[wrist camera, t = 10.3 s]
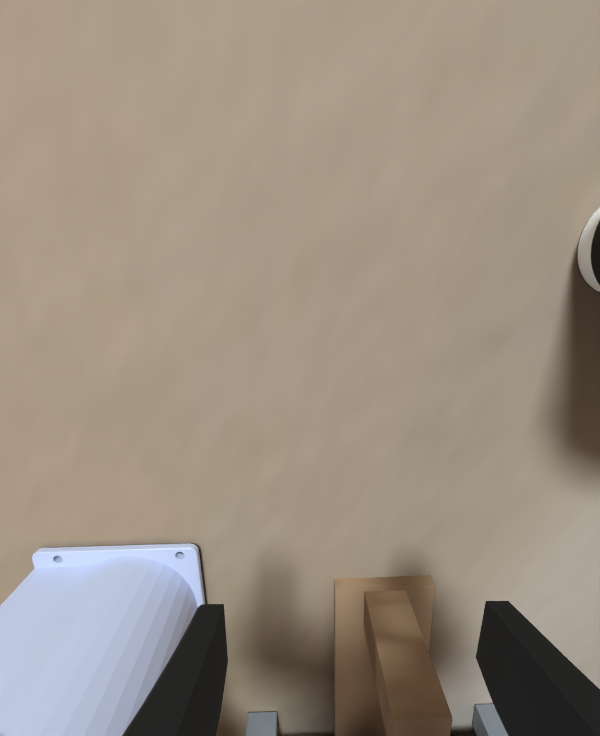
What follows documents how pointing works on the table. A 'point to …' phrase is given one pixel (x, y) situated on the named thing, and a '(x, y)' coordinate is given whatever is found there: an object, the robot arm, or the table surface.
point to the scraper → (386, 659)
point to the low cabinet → (484, 722)
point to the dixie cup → (590, 251)
